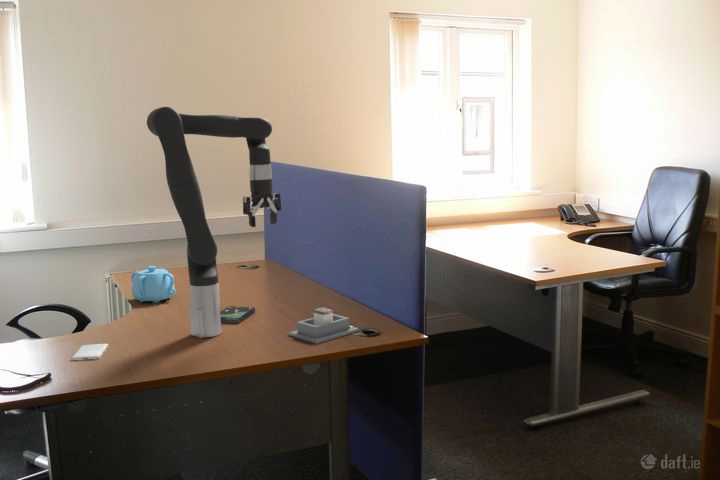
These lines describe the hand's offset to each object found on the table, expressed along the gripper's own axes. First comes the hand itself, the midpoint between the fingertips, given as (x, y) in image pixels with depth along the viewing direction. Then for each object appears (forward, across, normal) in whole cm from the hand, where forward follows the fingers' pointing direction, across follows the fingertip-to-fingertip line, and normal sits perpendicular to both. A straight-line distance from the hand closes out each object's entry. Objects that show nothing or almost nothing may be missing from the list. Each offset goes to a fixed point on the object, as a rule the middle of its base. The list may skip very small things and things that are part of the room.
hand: (263, 225), depth 255 cm
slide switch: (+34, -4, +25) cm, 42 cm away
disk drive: (+35, +4, -15) cm, 38 cm away
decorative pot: (+34, +10, -62) cm, 72 cm away
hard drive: (+35, +58, -14) cm, 69 cm away
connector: (+33, -4, +25) cm, 42 cm away
